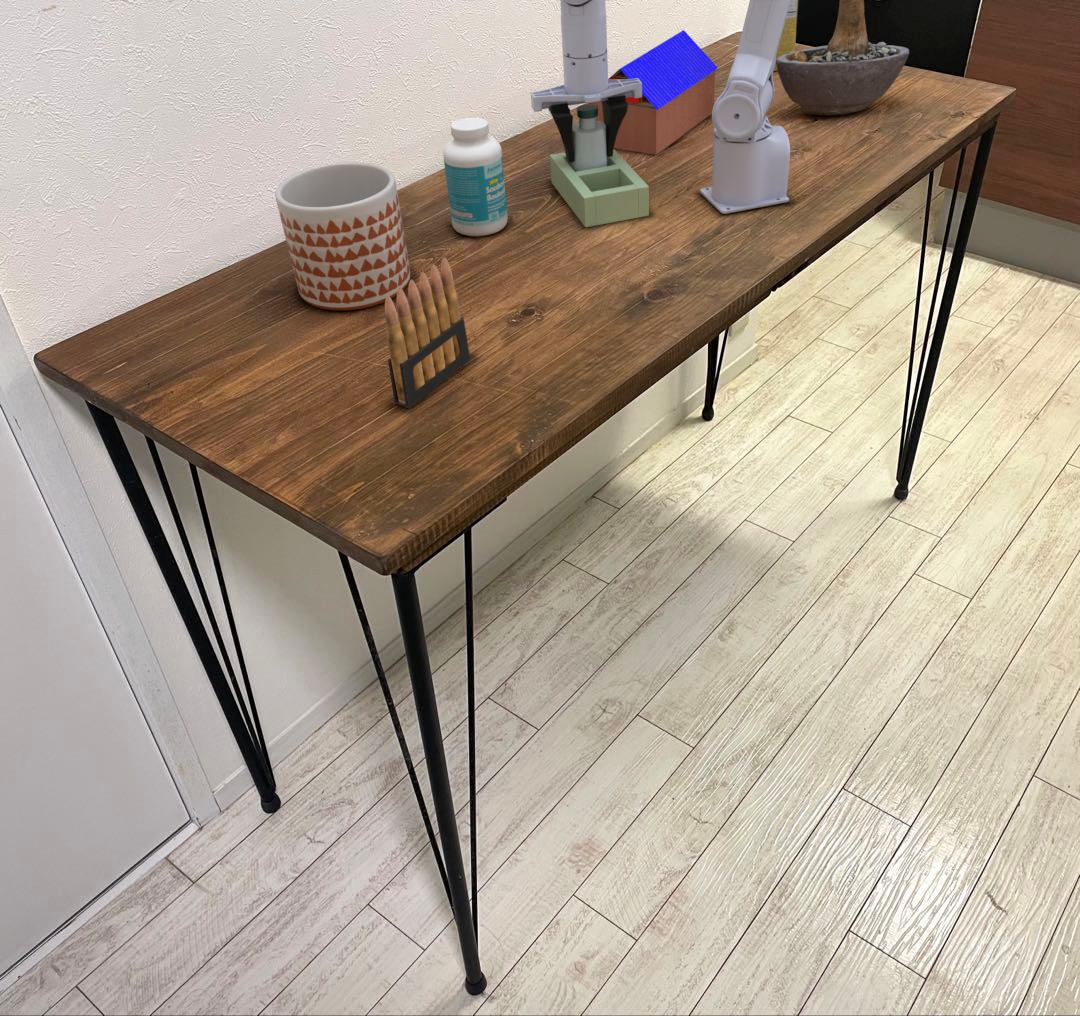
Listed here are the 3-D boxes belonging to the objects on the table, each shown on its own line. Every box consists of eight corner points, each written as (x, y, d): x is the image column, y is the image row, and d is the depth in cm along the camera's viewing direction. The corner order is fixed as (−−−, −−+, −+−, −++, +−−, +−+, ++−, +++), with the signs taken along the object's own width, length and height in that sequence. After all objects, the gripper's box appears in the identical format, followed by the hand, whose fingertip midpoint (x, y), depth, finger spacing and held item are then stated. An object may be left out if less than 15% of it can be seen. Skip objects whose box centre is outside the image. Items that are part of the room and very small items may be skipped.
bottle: (603, 172, 143) (600, 99, 137) (611, 185, 139) (609, 111, 133) (569, 177, 143) (565, 104, 136) (577, 190, 139) (573, 116, 133)
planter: (766, 119, 157) (776, -23, 145) (820, 87, 167) (834, -49, 154) (855, 137, 149) (874, -12, 137) (906, 102, 159) (928, -40, 146)
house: (716, 111, 162) (719, 33, 154) (657, 156, 149) (657, 73, 142) (649, 102, 167) (649, 26, 160) (586, 144, 155) (583, 64, 147)
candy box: (756, 57, 181) (762, -39, 172) (780, 54, 181) (787, -41, 172) (769, 72, 175) (776, -26, 165) (794, 69, 175) (802, -29, 165)
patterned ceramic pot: (379, 318, 117) (359, 213, 109) (277, 305, 122) (251, 203, 113) (429, 265, 127) (414, 164, 119) (334, 254, 131) (313, 157, 123)
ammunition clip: (457, 354, 110) (442, 251, 102) (470, 358, 109) (457, 255, 102) (394, 404, 103) (373, 298, 96) (408, 409, 103) (388, 302, 95)
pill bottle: (501, 239, 131) (490, 134, 123) (446, 238, 133) (431, 134, 124) (514, 215, 137) (504, 113, 128) (461, 213, 138) (448, 113, 130)
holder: (610, 172, 146) (609, 144, 143) (649, 215, 134) (649, 186, 131) (551, 182, 144) (549, 154, 142) (585, 227, 132) (583, 198, 130)
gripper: (535, 68, 126) (542, 175, 135) (648, 53, 128) (648, 160, 137) (525, 52, 132) (532, 156, 140) (633, 38, 133) (634, 141, 142)
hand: (589, 157), depth 139 cm, fingers closed on bottle, 5 cm apart
